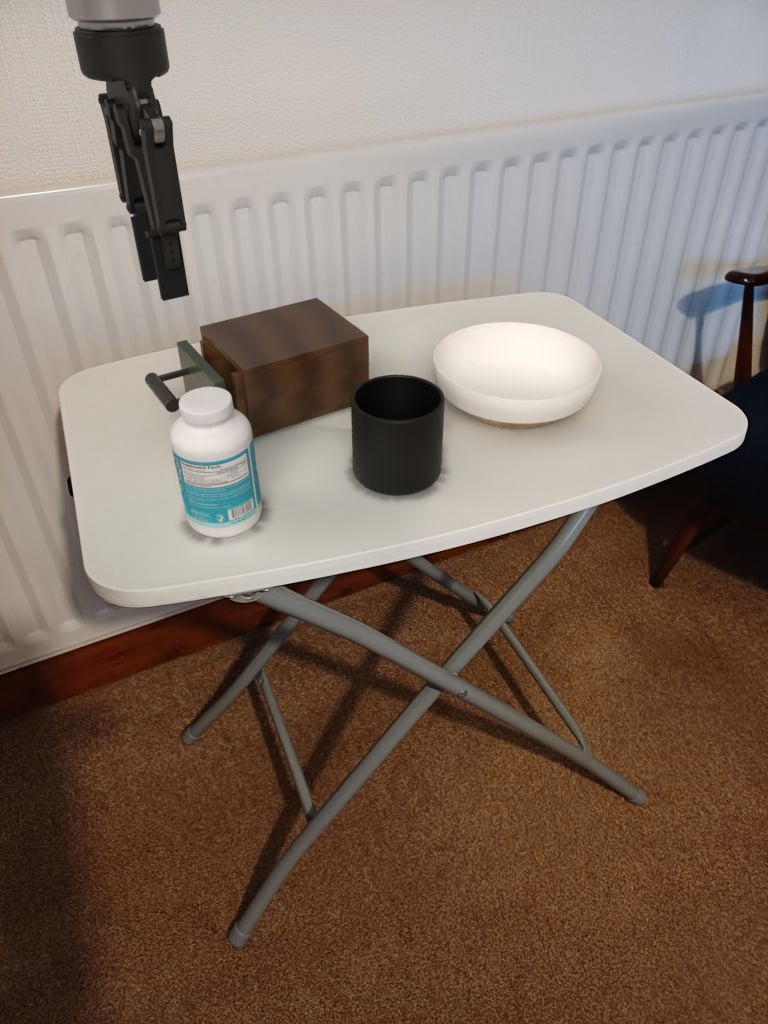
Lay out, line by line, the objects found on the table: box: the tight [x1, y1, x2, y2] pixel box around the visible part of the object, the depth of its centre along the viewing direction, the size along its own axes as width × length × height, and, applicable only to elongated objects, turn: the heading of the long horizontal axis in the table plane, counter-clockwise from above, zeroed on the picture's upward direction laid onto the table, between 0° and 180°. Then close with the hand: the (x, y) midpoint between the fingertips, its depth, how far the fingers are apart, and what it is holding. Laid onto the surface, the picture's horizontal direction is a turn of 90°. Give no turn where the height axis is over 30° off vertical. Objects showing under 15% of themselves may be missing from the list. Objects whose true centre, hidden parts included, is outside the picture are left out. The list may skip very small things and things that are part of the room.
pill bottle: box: [169, 387, 263, 539], centre depth 74 cm, size 8×7×14 cm
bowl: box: [432, 321, 603, 429], centre depth 93 cm, size 20×20×6 cm
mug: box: [350, 374, 446, 496], centre depth 82 cm, size 9×12×9 cm
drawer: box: [144, 339, 247, 418], centre depth 91 cm, size 20×11×7 cm, turn 122°
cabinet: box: [199, 297, 370, 438], centre depth 94 cm, size 16×13×9 cm
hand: (165, 286), depth 81 cm, fingers open, 5 cm apart
